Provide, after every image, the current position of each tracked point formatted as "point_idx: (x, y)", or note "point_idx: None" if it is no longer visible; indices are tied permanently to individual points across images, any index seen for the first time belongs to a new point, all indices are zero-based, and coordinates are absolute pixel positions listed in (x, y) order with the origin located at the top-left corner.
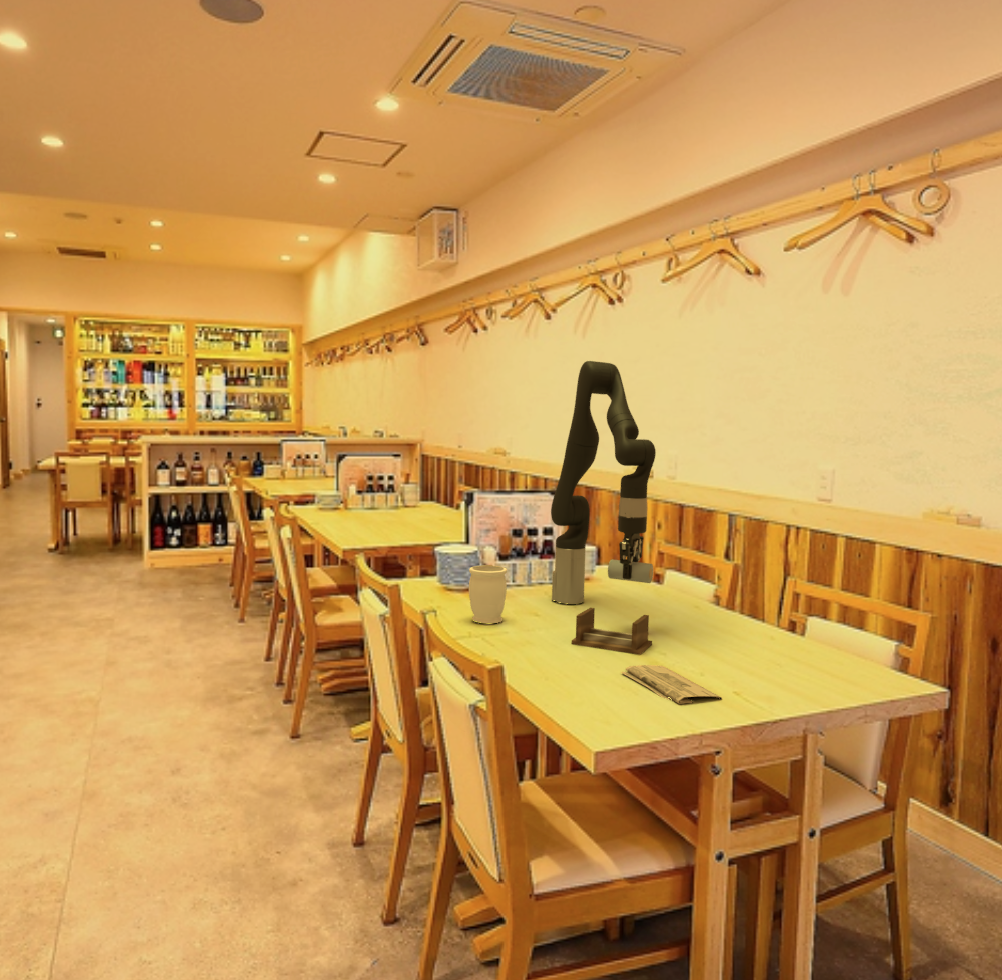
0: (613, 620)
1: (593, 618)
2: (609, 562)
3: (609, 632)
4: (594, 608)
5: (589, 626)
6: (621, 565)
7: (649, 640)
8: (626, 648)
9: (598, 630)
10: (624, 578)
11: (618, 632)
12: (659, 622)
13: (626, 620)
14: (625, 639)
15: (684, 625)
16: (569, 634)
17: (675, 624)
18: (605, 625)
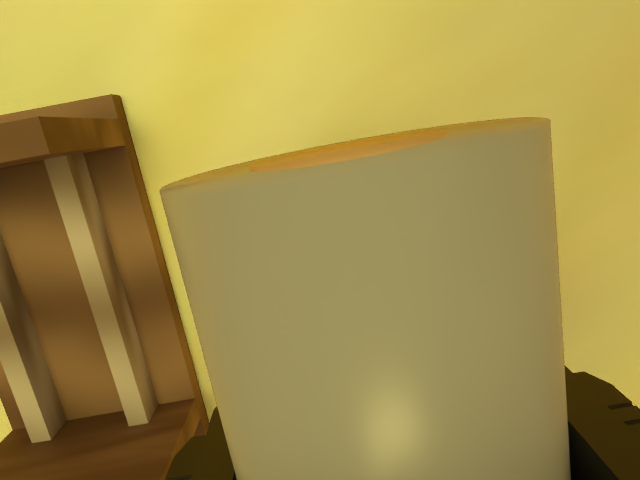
0: (507, 56)
1: (69, 152)
2: (203, 198)
3: (82, 273)
4: (48, 153)
5: (20, 163)
6: (251, 464)
7: (201, 424)
8: (5, 409)
9: (60, 211)
10: None
11: (104, 317)
12: (613, 277)
13: (552, 117)
14: (20, 403)
15: (625, 391)
16: (57, 15)
17: (619, 353)
18: (373, 78)
